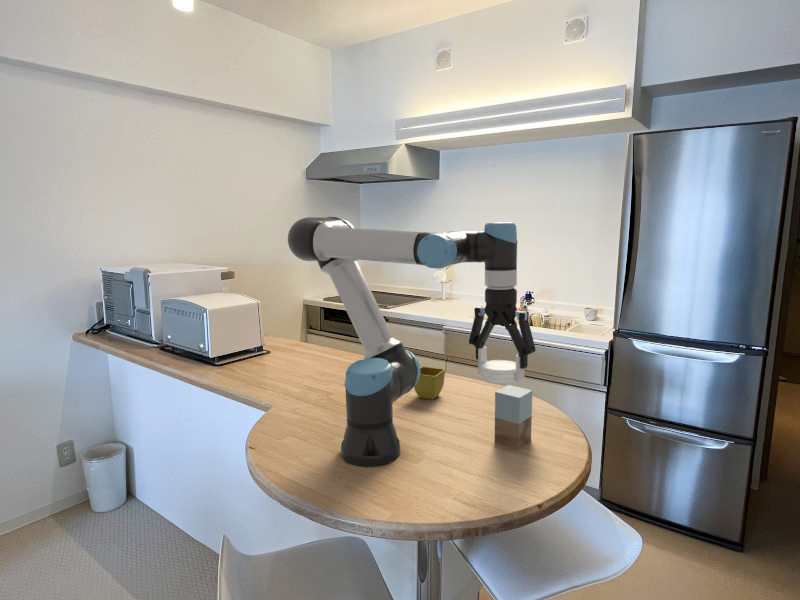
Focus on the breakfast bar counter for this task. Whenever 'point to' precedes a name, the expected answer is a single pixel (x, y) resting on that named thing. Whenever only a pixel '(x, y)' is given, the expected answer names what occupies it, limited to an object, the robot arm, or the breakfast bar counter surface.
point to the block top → (513, 404)
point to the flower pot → (430, 382)
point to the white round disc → (498, 372)
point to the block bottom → (513, 433)
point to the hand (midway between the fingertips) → (500, 376)
